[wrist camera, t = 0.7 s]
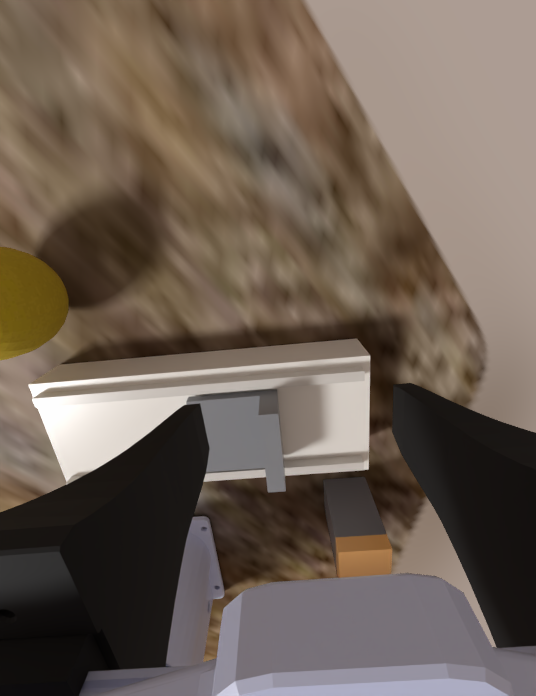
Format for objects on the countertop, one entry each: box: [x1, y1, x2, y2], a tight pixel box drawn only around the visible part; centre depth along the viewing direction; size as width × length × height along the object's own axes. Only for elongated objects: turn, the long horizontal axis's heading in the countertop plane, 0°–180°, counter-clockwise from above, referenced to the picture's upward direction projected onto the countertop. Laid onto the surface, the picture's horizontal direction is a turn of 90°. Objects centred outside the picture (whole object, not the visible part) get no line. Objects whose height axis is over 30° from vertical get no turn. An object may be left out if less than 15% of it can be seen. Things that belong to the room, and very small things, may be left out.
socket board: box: [29, 339, 370, 485], centre depth 21 cm, size 20×8×4 cm, turn 96°
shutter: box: [186, 390, 286, 492], centre depth 18 cm, size 5×5×3 cm
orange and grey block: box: [323, 477, 392, 578], centre depth 23 cm, size 3×3×6 cm
